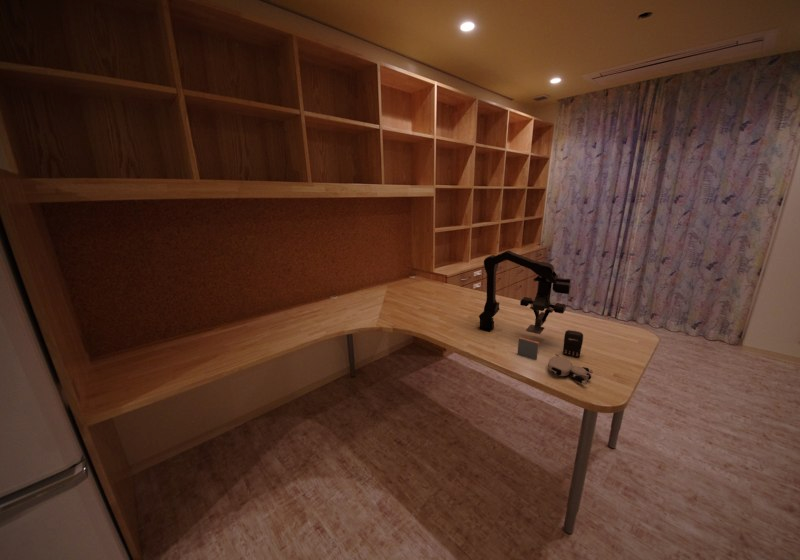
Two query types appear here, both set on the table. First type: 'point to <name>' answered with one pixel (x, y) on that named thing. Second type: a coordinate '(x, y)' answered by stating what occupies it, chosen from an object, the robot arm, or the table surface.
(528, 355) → the tile
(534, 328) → the turner
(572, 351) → the battery charger
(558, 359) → the robot toy
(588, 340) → the table surface
